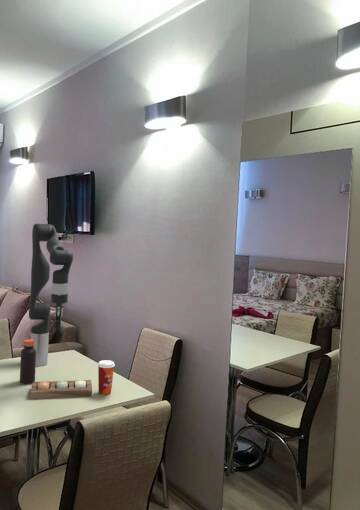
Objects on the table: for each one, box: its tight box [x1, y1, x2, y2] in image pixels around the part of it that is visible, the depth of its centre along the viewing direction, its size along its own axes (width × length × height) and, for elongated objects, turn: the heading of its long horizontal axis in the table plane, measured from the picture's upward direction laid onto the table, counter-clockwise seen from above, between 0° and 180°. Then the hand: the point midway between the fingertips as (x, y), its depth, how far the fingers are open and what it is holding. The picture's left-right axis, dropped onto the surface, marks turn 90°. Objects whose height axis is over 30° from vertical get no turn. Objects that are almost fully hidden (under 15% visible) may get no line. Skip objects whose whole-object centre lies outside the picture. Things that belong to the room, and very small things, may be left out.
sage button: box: [56, 380, 68, 389], centre depth 183 cm, size 5×5×4 cm
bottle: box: [19, 338, 37, 385], centre depth 192 cm, size 7×7×20 cm
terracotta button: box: [38, 381, 49, 389], centre depth 181 cm, size 5×5×4 cm
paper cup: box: [97, 359, 116, 396], centre depth 186 cm, size 8×8×14 cm
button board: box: [29, 379, 93, 400], centre depth 183 cm, size 12×26×3 cm, turn 105°
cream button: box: [75, 379, 86, 388], centre depth 185 cm, size 5×5×4 cm
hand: (57, 328), depth 191 cm, fingers closed
